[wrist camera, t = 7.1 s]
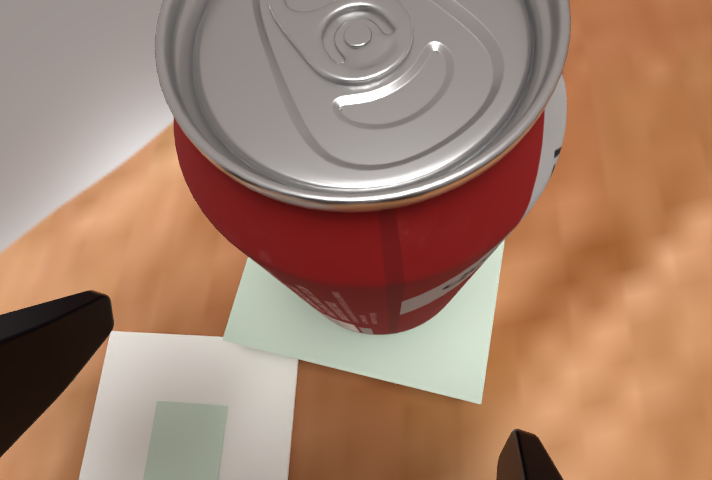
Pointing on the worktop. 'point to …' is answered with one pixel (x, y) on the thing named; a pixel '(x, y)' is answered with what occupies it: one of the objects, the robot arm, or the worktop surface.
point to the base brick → (375, 352)
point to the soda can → (366, 138)
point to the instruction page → (190, 410)
